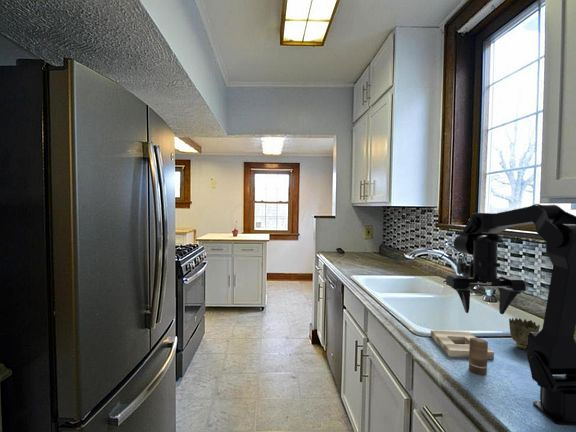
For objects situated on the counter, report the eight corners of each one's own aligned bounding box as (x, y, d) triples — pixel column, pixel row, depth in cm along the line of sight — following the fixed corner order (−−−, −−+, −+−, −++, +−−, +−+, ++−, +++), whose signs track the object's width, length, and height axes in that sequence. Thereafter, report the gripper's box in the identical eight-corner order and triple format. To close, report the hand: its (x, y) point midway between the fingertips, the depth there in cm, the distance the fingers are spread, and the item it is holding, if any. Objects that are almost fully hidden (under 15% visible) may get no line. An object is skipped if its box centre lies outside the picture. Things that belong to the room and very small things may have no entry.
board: (493, 359, 87) (494, 352, 87) (449, 357, 88) (449, 350, 88) (468, 337, 101) (468, 331, 101) (430, 336, 102) (430, 330, 102)
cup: (544, 355, 90) (545, 328, 89) (515, 352, 91) (516, 325, 91) (529, 343, 97) (530, 318, 97) (503, 341, 98) (504, 316, 98)
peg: (490, 375, 78) (491, 344, 78) (473, 375, 79) (474, 344, 78) (481, 367, 82) (482, 337, 82) (465, 366, 83) (466, 337, 82)
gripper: (503, 254, 94) (502, 305, 94) (438, 253, 95) (438, 303, 95) (528, 260, 82) (527, 318, 83) (454, 258, 84) (454, 315, 84)
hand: (484, 313), depth 87 cm, fingers open, 9 cm apart
